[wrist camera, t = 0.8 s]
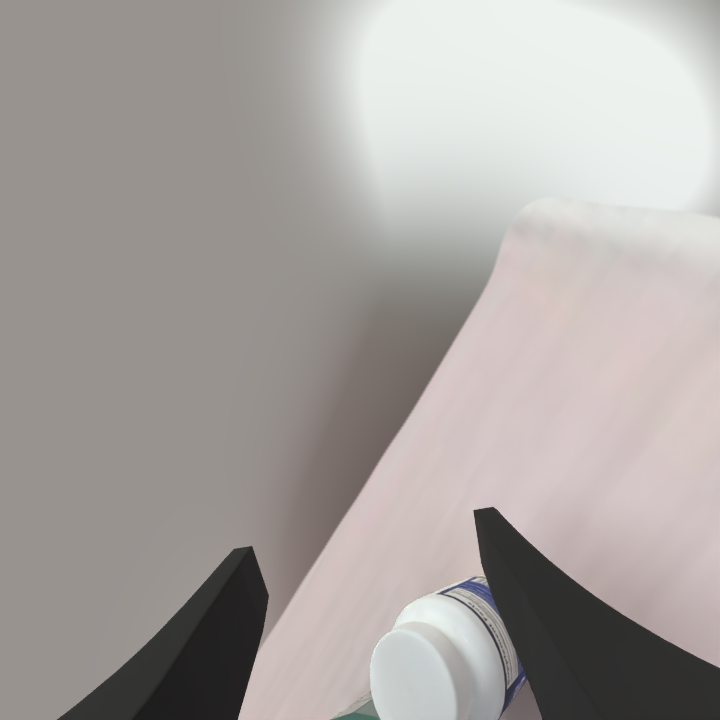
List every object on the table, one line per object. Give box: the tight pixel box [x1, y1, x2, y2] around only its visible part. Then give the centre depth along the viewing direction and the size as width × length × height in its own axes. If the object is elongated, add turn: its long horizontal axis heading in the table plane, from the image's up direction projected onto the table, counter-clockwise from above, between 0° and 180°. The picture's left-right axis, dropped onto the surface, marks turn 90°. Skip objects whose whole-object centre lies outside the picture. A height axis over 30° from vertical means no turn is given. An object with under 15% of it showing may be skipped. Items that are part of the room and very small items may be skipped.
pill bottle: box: [370, 575, 527, 720], centre depth 19 cm, size 5×5×10 cm
